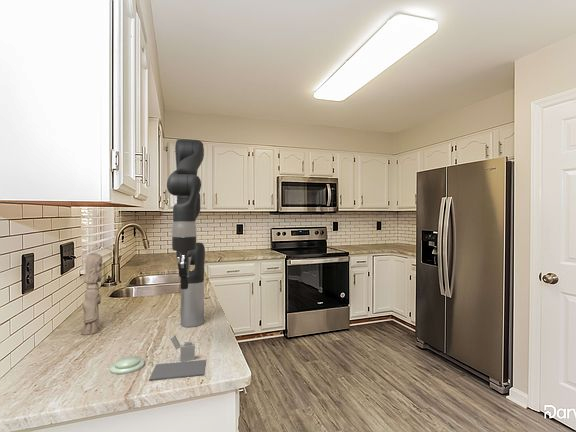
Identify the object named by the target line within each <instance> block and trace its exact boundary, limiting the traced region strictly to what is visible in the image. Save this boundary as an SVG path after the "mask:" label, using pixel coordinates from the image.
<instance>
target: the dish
mask: <svg viewBox="0 0 576 432" xmlns="http://www.w3.org/2000/svg"><path fill="white" fill-rule="evenodd" d="M144 366H145V359H144V358H142V357H139V356H136V355H128V356H123V357H121V358H118V359H117V360H115V362H113V363H111V364H110V366H109V372H110V373H111V374H113V375H127V374H131V373H134V372H137V371H139V370H141V369H142V368H144Z"/></svg>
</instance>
